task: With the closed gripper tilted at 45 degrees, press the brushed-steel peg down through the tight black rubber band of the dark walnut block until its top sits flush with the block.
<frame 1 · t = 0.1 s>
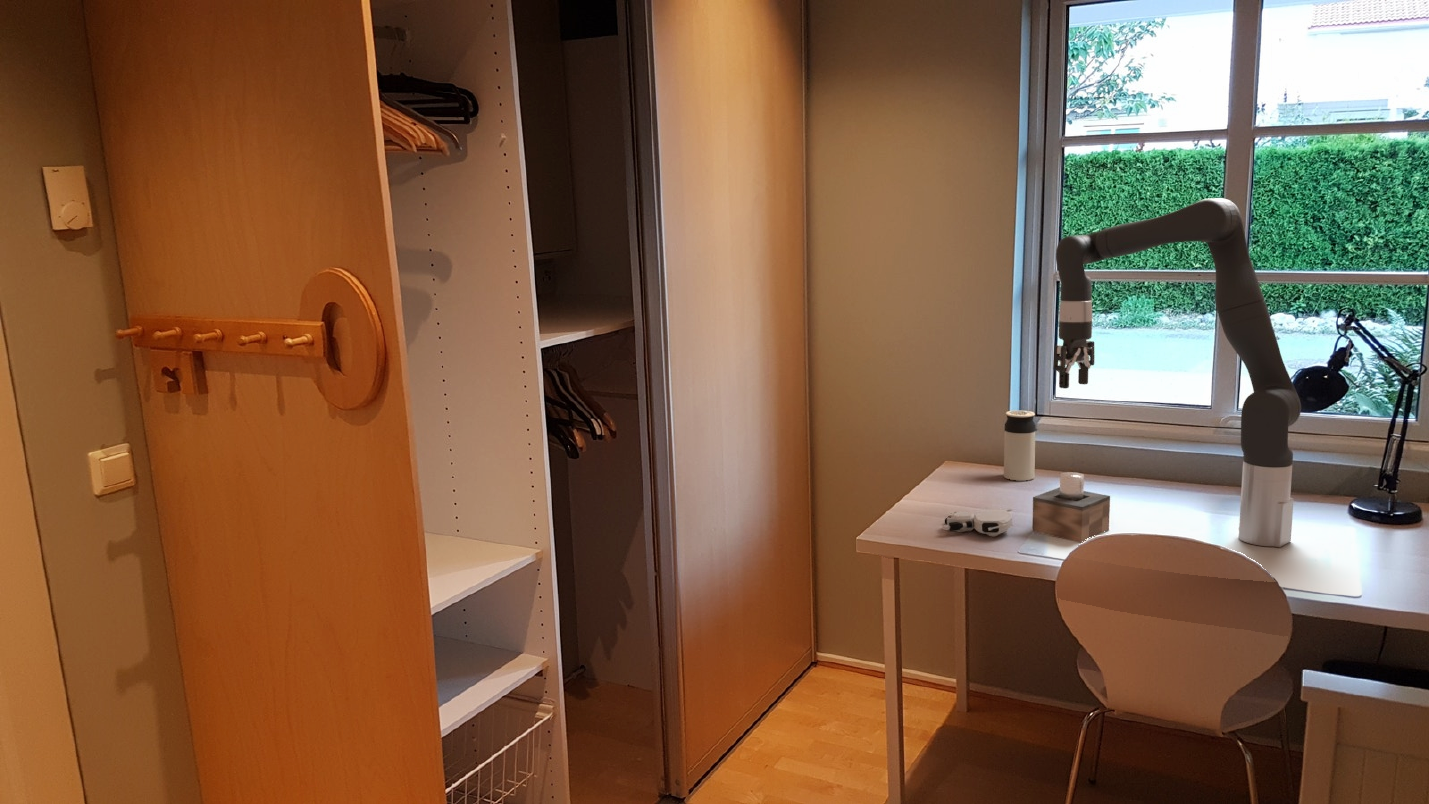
hand: (1073, 386, 247), 29 cm above the table, tool pointing down, fingers open, 8 cm apart
robot toy: (977, 532, 232), on the table
travel mug: (1018, 478, 276), on the table
band block: (1070, 530, 230), on the table
peg: (1071, 491, 228), point 9 cm above the table, slide at 5.0 cm
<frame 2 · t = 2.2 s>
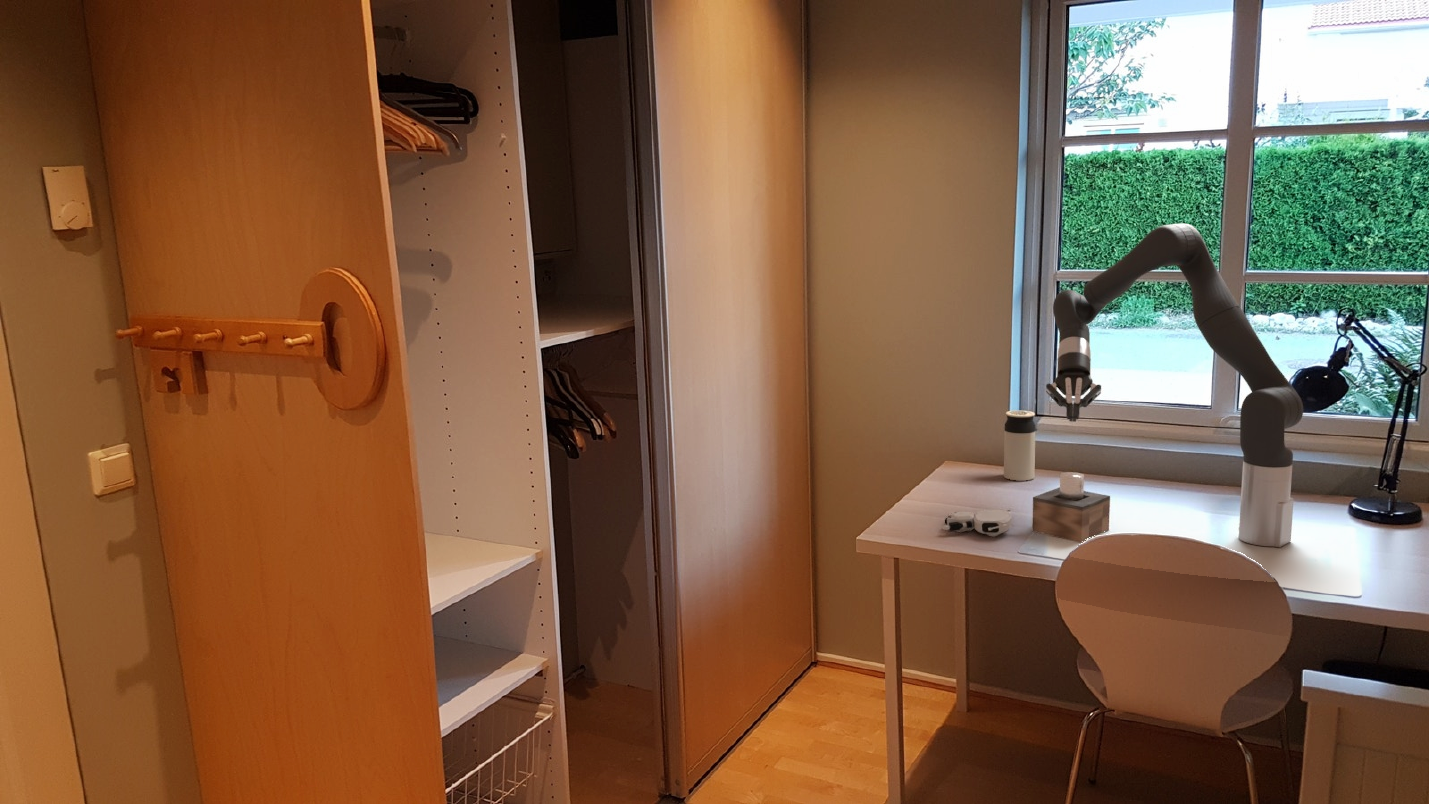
hand: (1072, 419, 237), 23 cm above the table, tool tilted 45°, fingers closed
nothing on the table moved.
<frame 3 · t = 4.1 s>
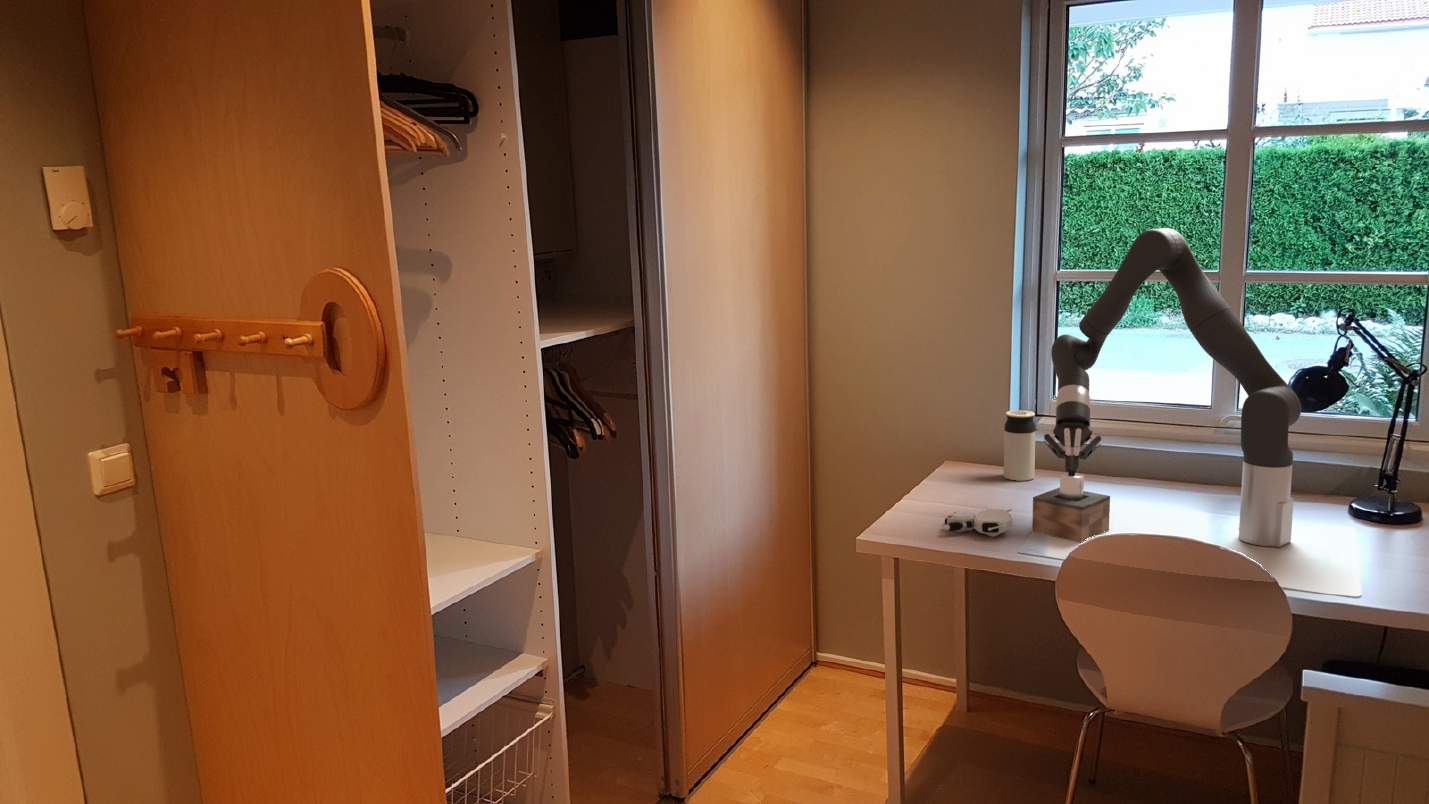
hand: (1071, 472, 227), 13 cm above the table, tool tilted 45°, fingers closed
peg: (1071, 492, 228), point 9 cm above the table, slide at 4.9 cm, touching gripper
everything else where it was.
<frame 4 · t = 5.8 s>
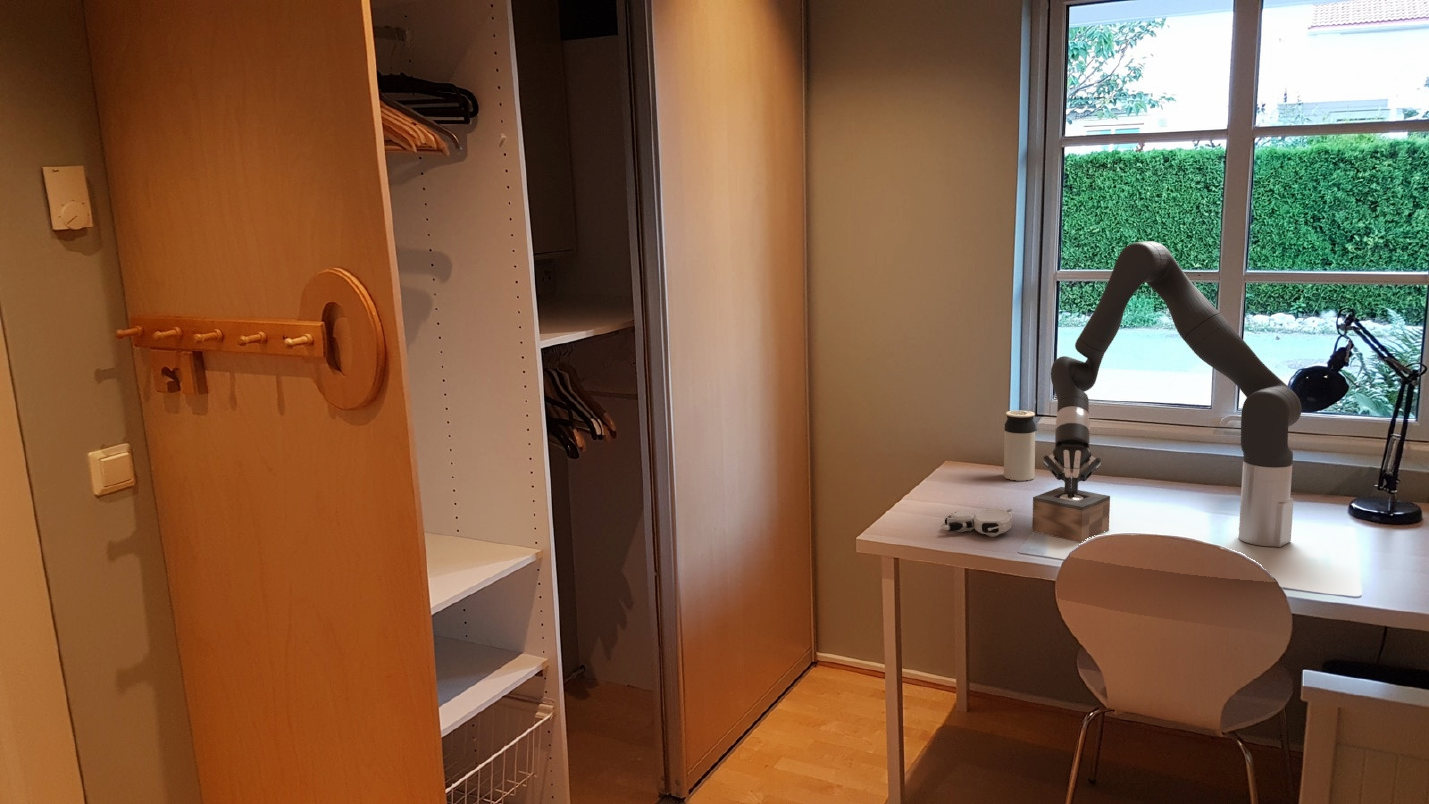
hand: (1071, 494, 228), 8 cm above the table, tool tilted 45°, fingers closed
peg: (1070, 513, 229), point 4 cm above the table, slide at -0.2 cm, touching gripper
everything else where it was.
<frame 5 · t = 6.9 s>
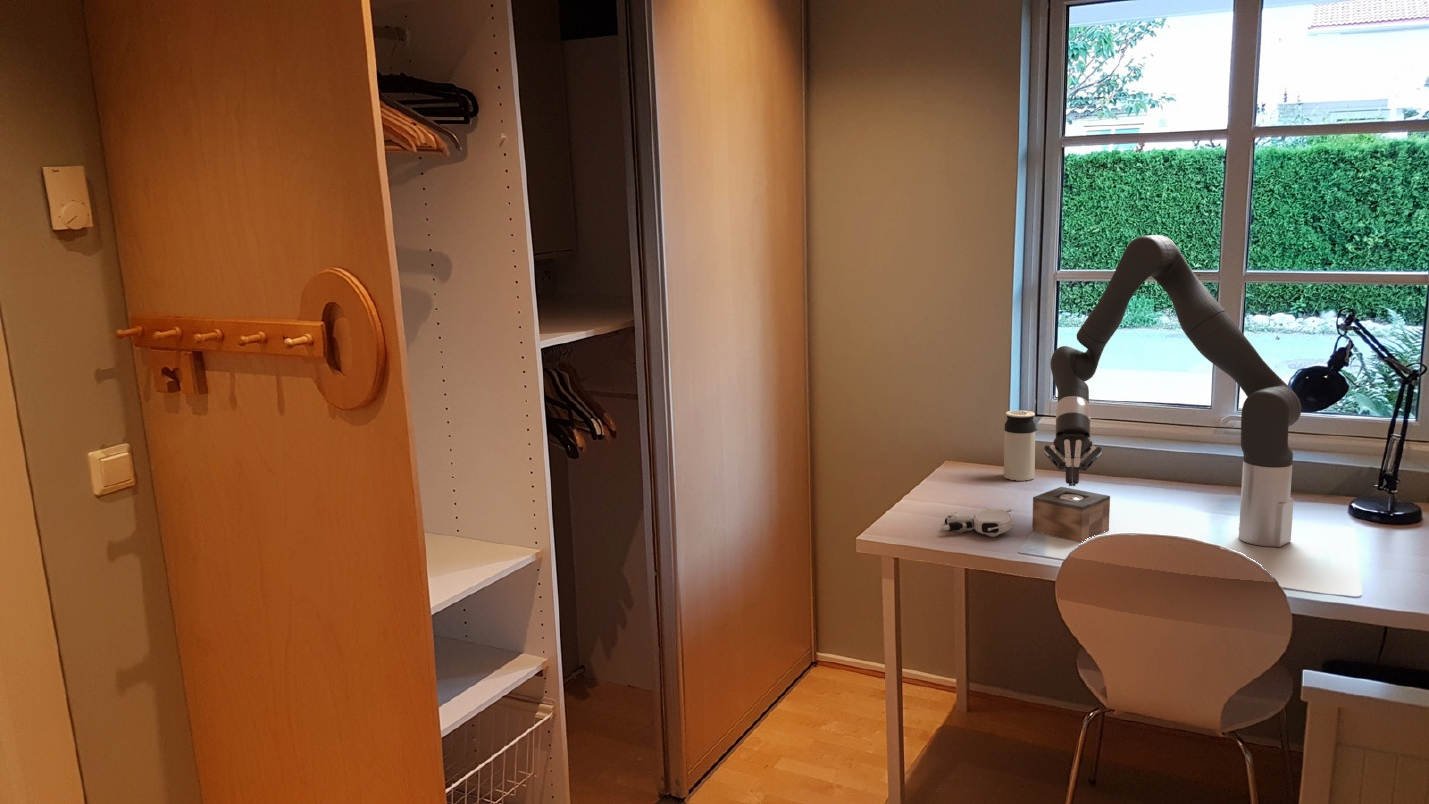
hand: (1072, 484, 228), 11 cm above the table, tool tilted 45°, fingers closed
peg: (1070, 513, 229), point 4 cm above the table, slide at -0.2 cm
everything else where it was.
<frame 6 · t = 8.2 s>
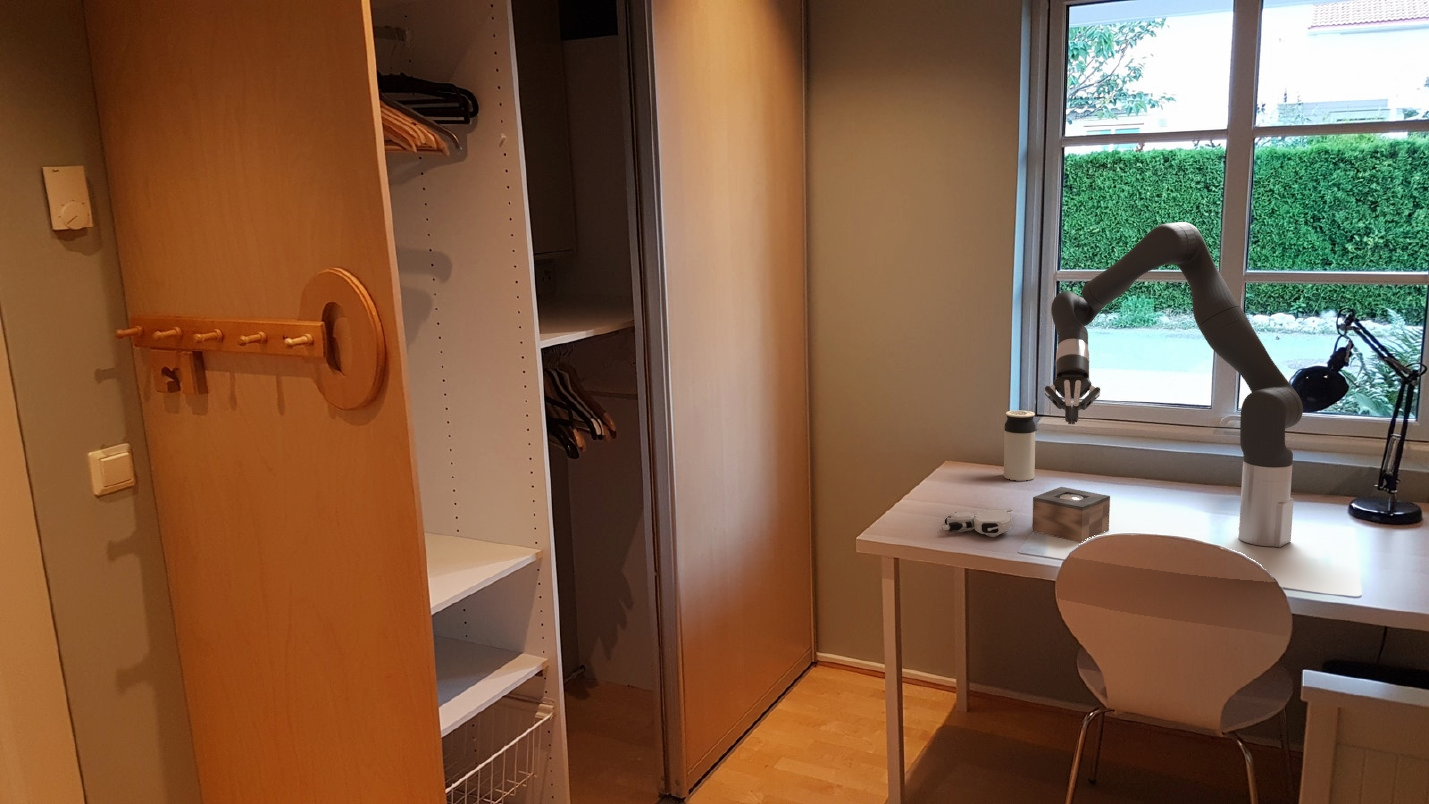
hand: (1071, 422, 235), 23 cm above the table, tool tilted 45°, fingers closed
nothing on the table moved.
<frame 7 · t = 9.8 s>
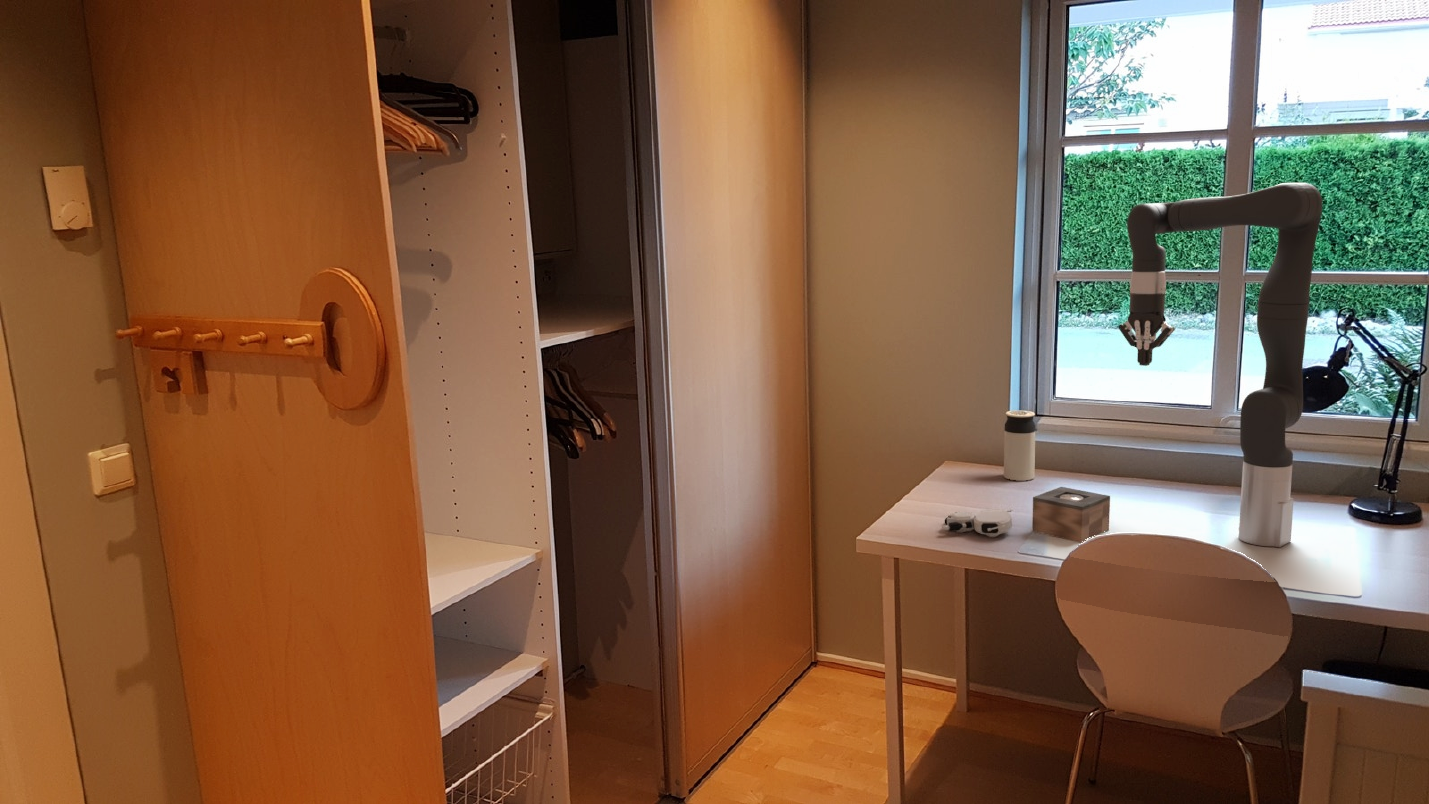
hand: (1144, 365, 238), 35 cm above the table, tool pointing down, fingers closed
nothing on the table moved.
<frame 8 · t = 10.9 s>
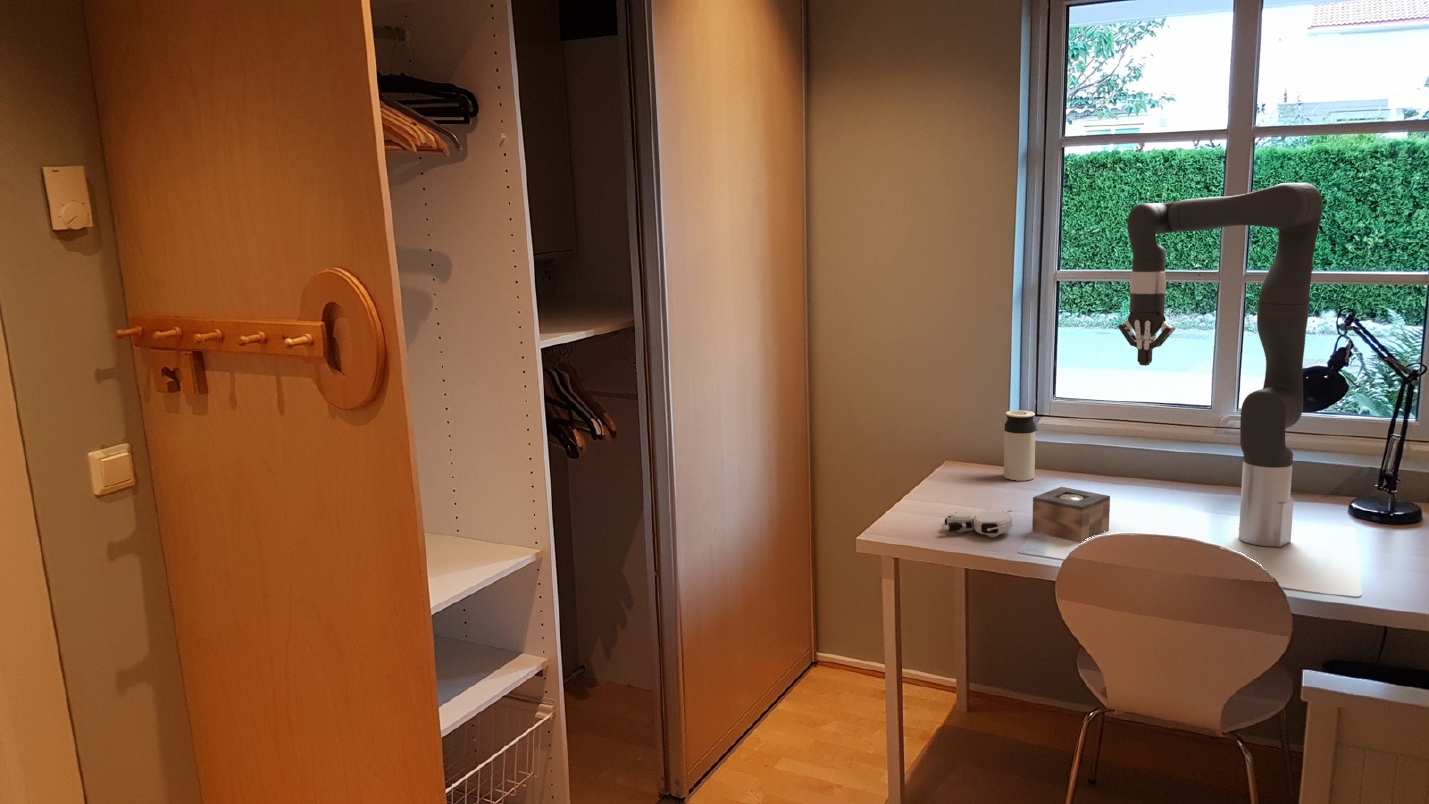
hand: (1144, 365, 238), 35 cm above the table, tool pointing down, fingers closed
nothing on the table moved.
at the end: peg slide at -0.2 cm; robot toy moved 0.6 cm from its start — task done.
